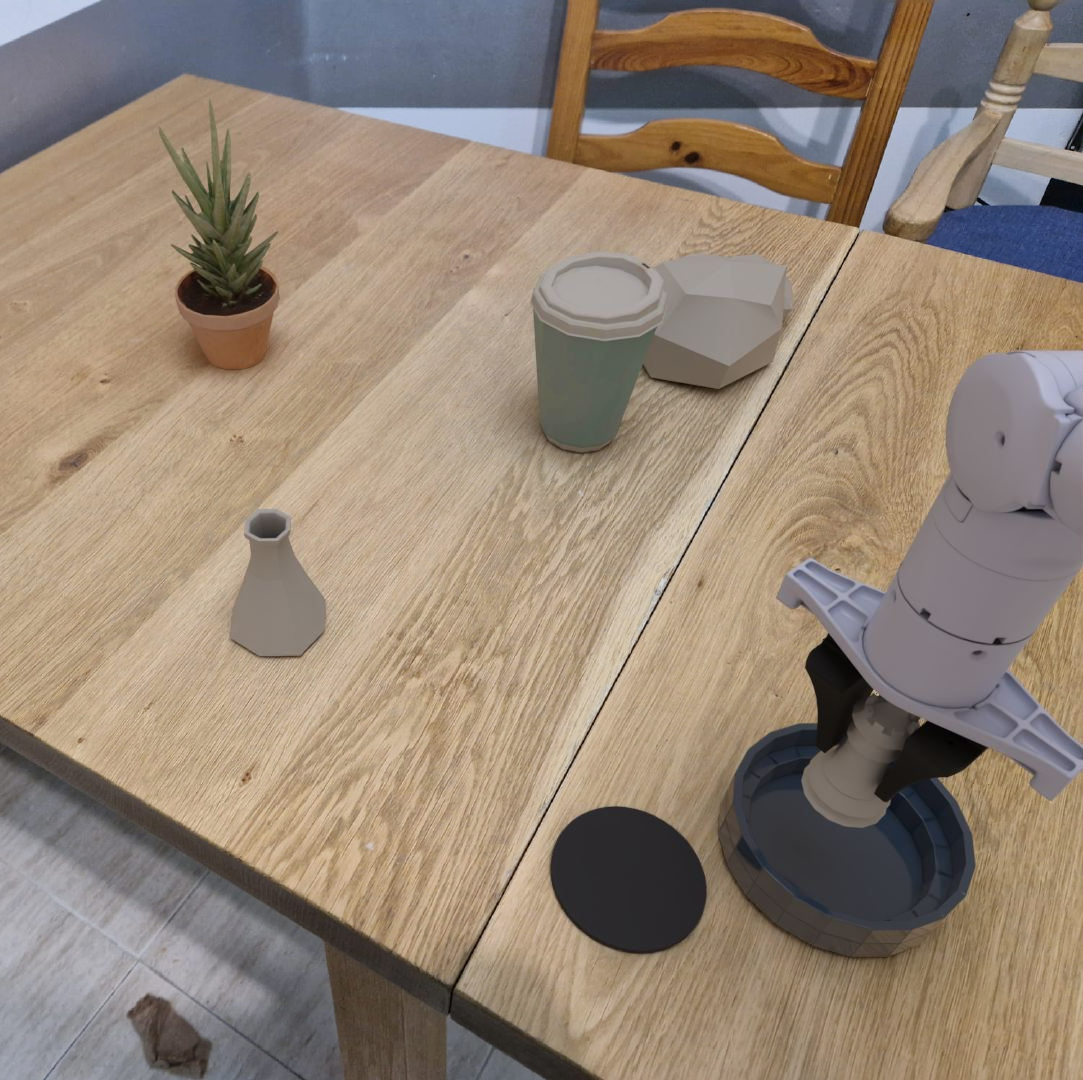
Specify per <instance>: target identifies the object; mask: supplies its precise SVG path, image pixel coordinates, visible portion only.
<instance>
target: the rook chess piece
mask: <svg viewBox="0 0 1083 1080" xmlns="http://www.w3.org/2000/svg"><path fill="white" fill-rule="evenodd" d="M852 717H853V721H852V722H851V723H850V724H849V726H848V730H847V735H848V736H847V737H846V739H845V740H844V741H843V742H842V743H841V744H840V745H837V746H833V747H832V748H831V749H830V750H829V751H827V752H826V753H823V752H822V751H820V752H819V753H818V754H817V755H816V756H815V757H814V758H813V759H812V760H811V761H810V764H809V765H808V766H807V767H806V768H805V769H804V773H803V776H802V780H801V781H802V785H803V790H804V794H805V796H806V797H807V799H808V800H809V802H810V803H811V805H812V806H813V807H814V809H815V810H816V811H817V812H819V813H820V814H821V815H822V816H824V817H825V818H826V819H828V820H830V821H832V822H835V823H837V824H840V825H842V826H846V827H858V828H863V827H867V826H870V825H873V824H876V823H877V822H878V821H879V820H880V819H881V818H882V817H883V816H884V815H885V813H886V808H887V807H888V806H889V805H890V801H891V800H889V801H888V802H883V801H882V800H881V799H880V798H878V797H877V796H876V795H875V794H874V792H875V790H876V788H877V786H878V785H879V784H880V783H881V782H882V781H883V780H884V778H885V777H886V776H887V775H888V774H889V772H890V770H891V767H892V764H893V762H894V761H897V760H898V759H899V757H900V755H901V752H902V750H903V747H904V743H905V741H906V739H907V738H908V736H910V735H911V734H912V733H913V732H914V731H915V730H917V729H918V728H919V727H920V726H921V723H920V719H922V718H921V717H918V716H916V715H914V714H912V713H909V712H907V711H905V710H903V709H901V708H899V707H897V706H895V705H894V704H892V703H890V702H889V701H887V700H886V699H885V698H883V697H882V696H881V695H879V694H878V695H877V694H876V693H874V692H872V693H871V695H870V696H869V697H865V698H862V699H860V700H859V701H858V702H857V703H856V704H855V705H854V708H853V712H852Z"/></svg>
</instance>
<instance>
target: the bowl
mask: <svg viewBox="0 0 1083 1080" xmlns="http://www.w3.org/2000/svg"><path fill="white" fill-rule="evenodd" d="M816 734H817V722H799V723H795V724H792V725H789V726H786V727H782V728H779V729H775V730H773V731H770V732H768V733H767V734H765V735H764V736H763V737H762V738H761V739H759V740H758V741H756V742H755V743H754V744H752V745H751V746H750V747H749V748H748V749H747V750H746V752H745V754H744V756H743V758H742V759H741V761H740V763H739V765H738V767H737V768H736V770H735V772H734V774H733V776H732V778H731V781H730V783H729V785H728V787H727V790H726V791H725V794H724V795H723V798H722V800H721V802H720V809H719V820H718V836H719V840H720V843H721V848H722V851H723V855H724V858H725V863H726V864H727V865H726V866H727V867H728V869H729V871H730V872H731V874H732V875H733V877H734V878H735V880H736V882H737V884H738V885H739V887H740V889H741V890H742V891H743V894H744V895H745V896H746V897H747V898H748V900H750V901H751V902H752V903H753V904H754V906H756V907H757V908H758V909H759V910H760V911H761V912H762V913H763V914H764V915H765V916H766V917H767V918H769V920H770V921H771V922H773V924H776V926H777V927H779V928H781V929H782V930H785V931H787V932H788V933H790V934H792V935H793V936H794V937H796V938H798V939H800V940H802V941H803V942H804V943H806V944H809V945H811V946H813V947H816V948H819V949H823V950H826V951H828V952H829V951H830V952H833V953H836V954H840V955H843V956H847V957H851V958H860V957H861V958H871V957H872V958H879V957H880V958H881V957H882V958H885V957H886V958H887V957H891V956H894V955H896V954H899V953H901V952H904V951H908V950H910V949H913V948H915V947H918V946H920V945H921V944H923V942H925V940H926V939H927V938H928V937H929V936H930V935H931V934H932V933H933V932H934V931H935V930H936V929H937V928H938V927H939V926H940V925H941V924H942V923H943V922H944V921H945V920H946V918H948V917H949V916H950V914H951V913H952V912H954V910H956V908H957V907H958V906H959V905H960V904H961V902H963V901H964V899H966V897H967V895H968V892H969V889H970V886H971V884H972V879H973V877H974V873H975V871H976V865H977V864H976V856H975V846H974V838H973V836H974V835H973V833H972V831H971V829H970V826H969V824H968V822H967V820H966V818H965V816H964V813H963V811H962V809H961V806H960V805H959V803H958V800H957V799H956V798H955V797H954V796H953V794H952V793H951V792H950V791H949V790H948V789H947V787H946V786H945V785H944V783H943V782H942V781H941V780H940V778H932V779H927V780H923V781H920V782H917V783H915V784H912V785H910V786H908V787H906V788H904V789H902V790H901V791H900V792H899V793H897V794H896V795H895V796H894V797H893V798H892V799H891V801H890V805H889V806H888V807H887V808H886V813H885V815H884V816H883V817H882V818H881V819H880V820H879V821H878V822H877V823H876V824H873V825H870V826H867V827H863V828H858V827H846V826H842V825H840V824H837V823H835V822H832V821H830V820H828V819H826V818H825V817H824V816H822V815H821V814H820V813H819V812H817V811H816V810H815V809H814V807H813V806H812V805H811V803H810V802H809V800H808V799H807V797H806V796H805V794H804V790H803V785H802V781H801V780H802V776H803V773H804V769H805V768H806V767H807V766H808V765H809V764H810V761H811V760H812V759H813V758H814V757H815V756H816V755H817V754H818V753H819V752H820V751H821V750H820V749H819V748H817V747H816V746H815V741H816ZM847 736H848V735H847ZM847 736H846V737H847ZM846 737H845V738H843V739H842V740H841V741H840V742H838V743H837V744H836V745H835V746H837V745H840V744H841V743H842V742H843V741H844V740H845V739H846ZM897 761H898V760H897ZM897 761H894V762H893V764H892V767H891V770H892V769H893V768H894V766H895V764H896V762H897ZM891 770H890V772H891ZM890 772H889V773H890Z"/></svg>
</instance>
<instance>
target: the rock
mask: <svg viewBox="0 0 1083 1080" xmlns="http://www.w3.org/2000/svg"><path fill="white" fill-rule="evenodd" d="M653 267H654V268H655V270H656V271H657V272H658V274H659V275H660V276H661V277H662V279H663V280H664V283H663V288H662V289H663V290H664V291H665V293H666V294H667V301H666V304H667V308H666V312H665V315H664V319H663V323H662V324H660V325H658V326H657V329H656V331H655V334H654V337H653V339H652V342H651V344H650V347H649V350H648V352H647V355H646V358H645V360H644V363H643V365H642V366H643V367H644V369H645V370H646V372H647V373H648V375H649V377H650V378H653V379H657V380H664V381H670V382H675V383H682V384H688V385H694V386H699V387H703V388H704V387H705V388H711V389H717V390H719V389H722V388H724V387H725V386H728V385H729V384H732V383H733V382H735V381H737V380H739V379H742V378H744V377H745V376H748V375H749V374H751V373H753V372H755V371H757V370H759V369H761V368H764V367H765V366H767V365H769V364H772V363H773V362H774V359H775V355H776V351H777V348H778V344H779V341H780V337H781V333H782V330H783V321H784V319H786V318H787V316H789V314H790V313H791V312H792V311H793V310H794V301H793V300H794V299H793V298H794V297H793V283H792V281H791V280H790V279H789V278H788V277H787V269H788V266H787V265H783V264H777V263H774V262H773V261H771V260H769V259H768V258H766V257H764V256H763V255H760V254H759V253H753V254H741V255H732V256H722V255H717V254H710V253H703V252H697V253H693V254H689V255H685V256H681V257H678V258H674V259H669V260H667V261H663V262H661V263H659V264H657V265H655V266H653Z"/></svg>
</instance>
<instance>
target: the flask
mask: <svg viewBox="0 0 1083 1080" xmlns="http://www.w3.org/2000/svg"><path fill="white" fill-rule="evenodd" d="M291 525H292V516H291V515H289V514H287V513H285V512H284V511H282V510H279V509H278V508H257V509H256V510H255V511H253V512H252V513H251V514H250V515H249V516H248V517H247V518H245V519H244V528H243V529H244V530H243V536H244V538H245V539H246V540H248V542H249V549H250V555H249V556H250V557H249V561H248V564H247V568H246V570H245V573H244V576H243V580H242V583H241V584H240V588H239V590H238V591H237V595H236V597H235V600H234V602H233V606H232V611H231V612H232V613H231V622H230V628H229V638H230V639H231V640H233V641H234V642H235V643H238V644H239V645H241V646H242V647H244V648H246V649H247V650H249V651H251V652H252V653H254V654H255V655H257V656H259V657H287V656H289V657H290V656H291V657H293V656H294V657H295V656H296V657H298V656H301V655H302V654H303V653H304V652H305V651H306V650H308V648H309V647H310V646H311V645H312V644H313V643H314V642H315V641H316V640H317V639H318V638H319V637H320V636H321V635H322V634H323V633H324V632H325V631H326V607H327V606H326V602H327V601H326V598H325V596H324V595H323V594H322V593H321V591H320V590H319V589H318V587H317V585H315V583H314V581H313V580H312V579H311V577H309V575H308V573H307V571H306V570H305V569H304V567H303V566H302V564H301V563H300V561H299V560H298V559H299V558H297V557H296V554H295V552H294V548H293V547H292V544H291V541H290V537H289V536H290V535H291V529H292V526H291Z"/></svg>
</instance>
